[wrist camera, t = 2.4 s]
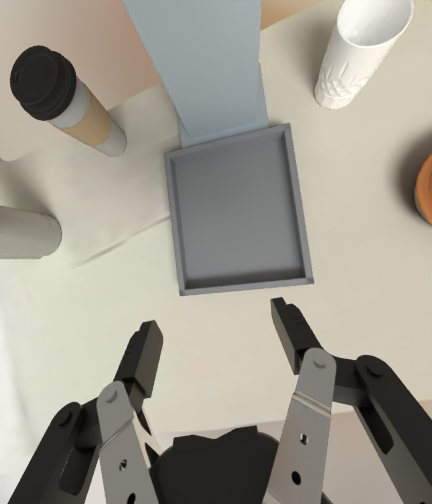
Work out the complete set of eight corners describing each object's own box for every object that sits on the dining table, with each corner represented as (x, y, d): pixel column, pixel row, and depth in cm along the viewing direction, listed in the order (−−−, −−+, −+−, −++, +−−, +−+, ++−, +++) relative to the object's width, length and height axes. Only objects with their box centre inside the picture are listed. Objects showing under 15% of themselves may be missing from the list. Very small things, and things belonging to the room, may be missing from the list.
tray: (308, 281, 31) (314, 283, 28) (185, 292, 35) (179, 296, 32) (286, 134, 32) (289, 122, 30) (170, 161, 36) (163, 153, 33)
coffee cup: (90, 135, 40) (-2, 64, 25) (126, 113, 39) (50, 25, 24) (103, 173, 39) (15, 122, 25) (140, 152, 38) (70, 86, 23)
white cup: (306, 76, 32) (331, -4, 22) (356, 61, 31) (406, -31, 21) (314, 118, 32) (343, 56, 22) (365, 105, 30) (420, 32, 21)
